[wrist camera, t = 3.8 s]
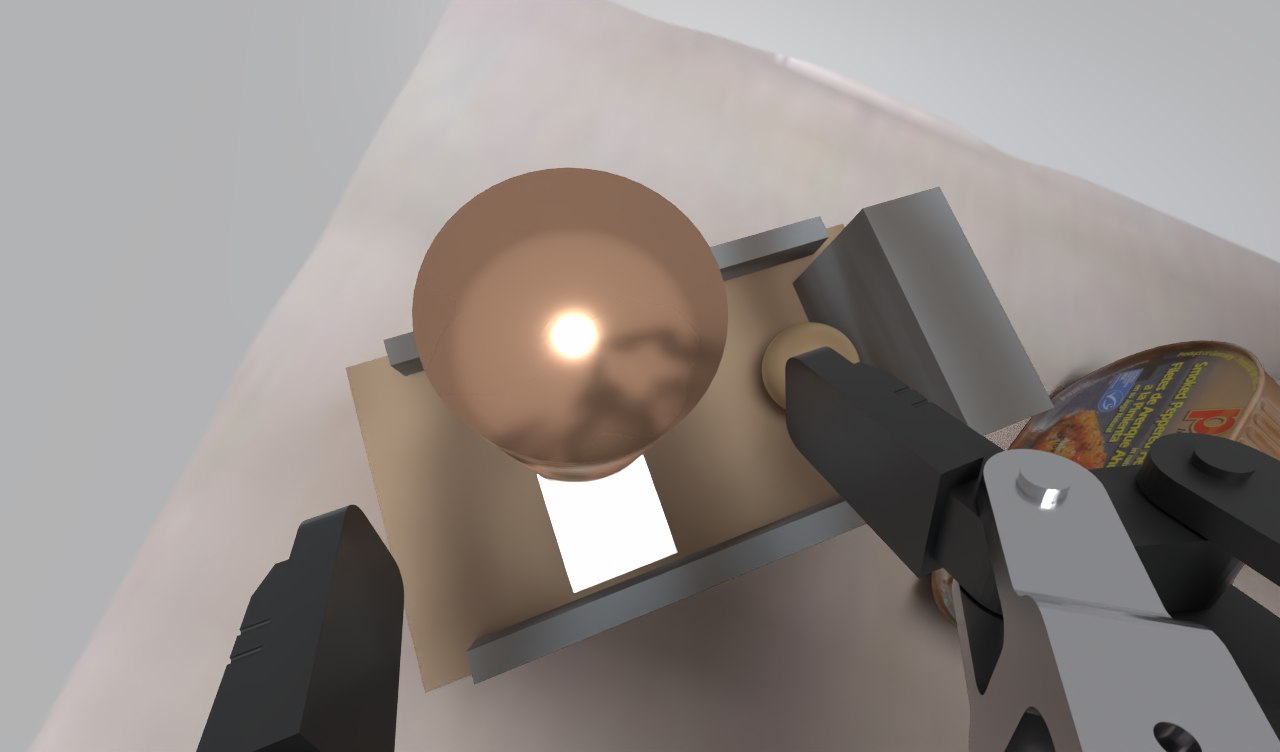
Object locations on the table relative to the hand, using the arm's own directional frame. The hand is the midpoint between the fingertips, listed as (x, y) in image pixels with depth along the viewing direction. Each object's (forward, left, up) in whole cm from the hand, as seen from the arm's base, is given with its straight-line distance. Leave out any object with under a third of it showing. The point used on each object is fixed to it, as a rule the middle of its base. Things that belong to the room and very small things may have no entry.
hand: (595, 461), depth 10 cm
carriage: (0, -1, -10) cm, 10 cm away
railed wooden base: (-4, -1, -13) cm, 13 cm away
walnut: (-9, -1, -11) cm, 14 cm away
